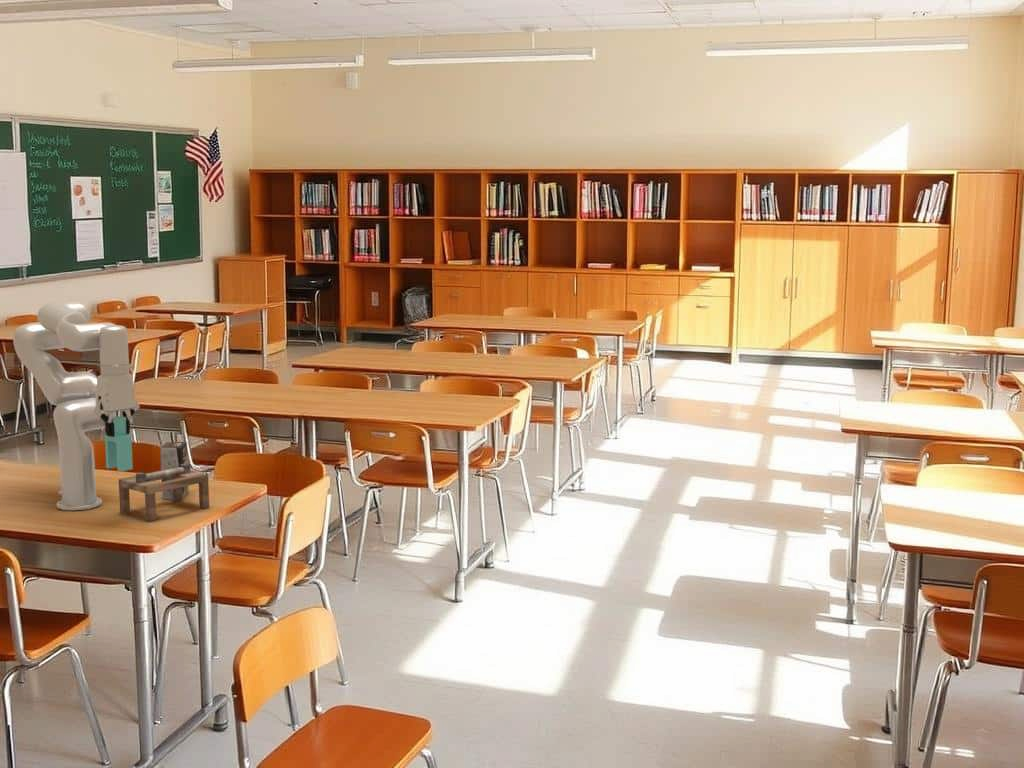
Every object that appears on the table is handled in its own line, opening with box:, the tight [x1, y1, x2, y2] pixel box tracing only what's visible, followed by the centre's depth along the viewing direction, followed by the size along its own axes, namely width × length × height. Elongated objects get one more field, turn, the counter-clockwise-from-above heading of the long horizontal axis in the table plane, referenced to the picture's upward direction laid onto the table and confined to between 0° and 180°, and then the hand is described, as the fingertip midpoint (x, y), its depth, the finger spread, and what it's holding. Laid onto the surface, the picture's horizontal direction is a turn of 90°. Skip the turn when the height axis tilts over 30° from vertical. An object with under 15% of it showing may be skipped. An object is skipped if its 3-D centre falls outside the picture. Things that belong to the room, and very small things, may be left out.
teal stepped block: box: [104, 415, 134, 472], centre depth 318 cm, size 7×4×15 cm, turn 51°
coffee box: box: [159, 441, 190, 500], centre depth 348 cm, size 9×6×16 cm
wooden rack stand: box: [118, 463, 210, 523], centre depth 331 cm, size 15×20×12 cm
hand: (117, 434), depth 318 cm, fingers closed on teal stepped block, 4 cm apart
